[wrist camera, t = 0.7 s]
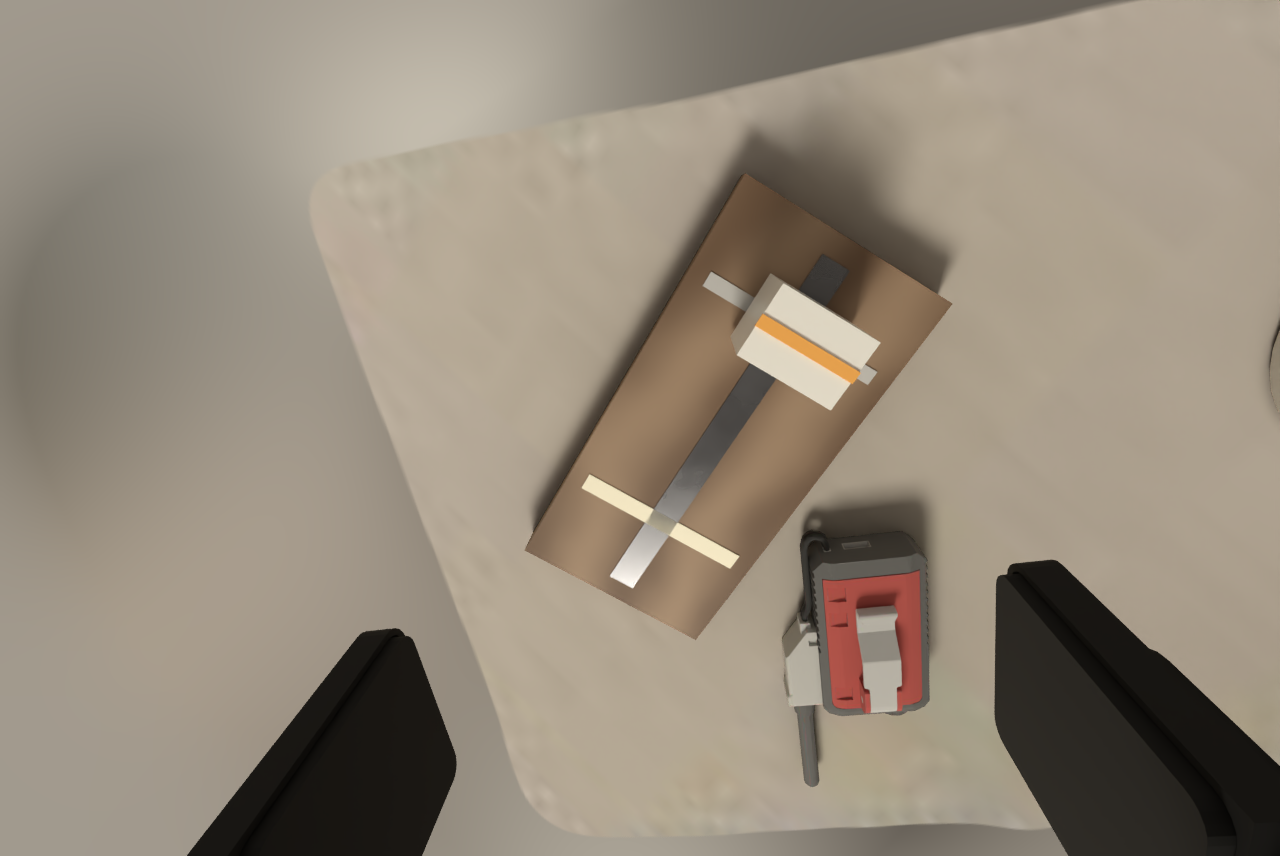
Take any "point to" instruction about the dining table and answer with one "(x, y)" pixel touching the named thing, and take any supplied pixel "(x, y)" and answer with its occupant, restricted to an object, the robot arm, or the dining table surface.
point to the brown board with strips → (723, 417)
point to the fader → (802, 342)
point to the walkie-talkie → (857, 632)
